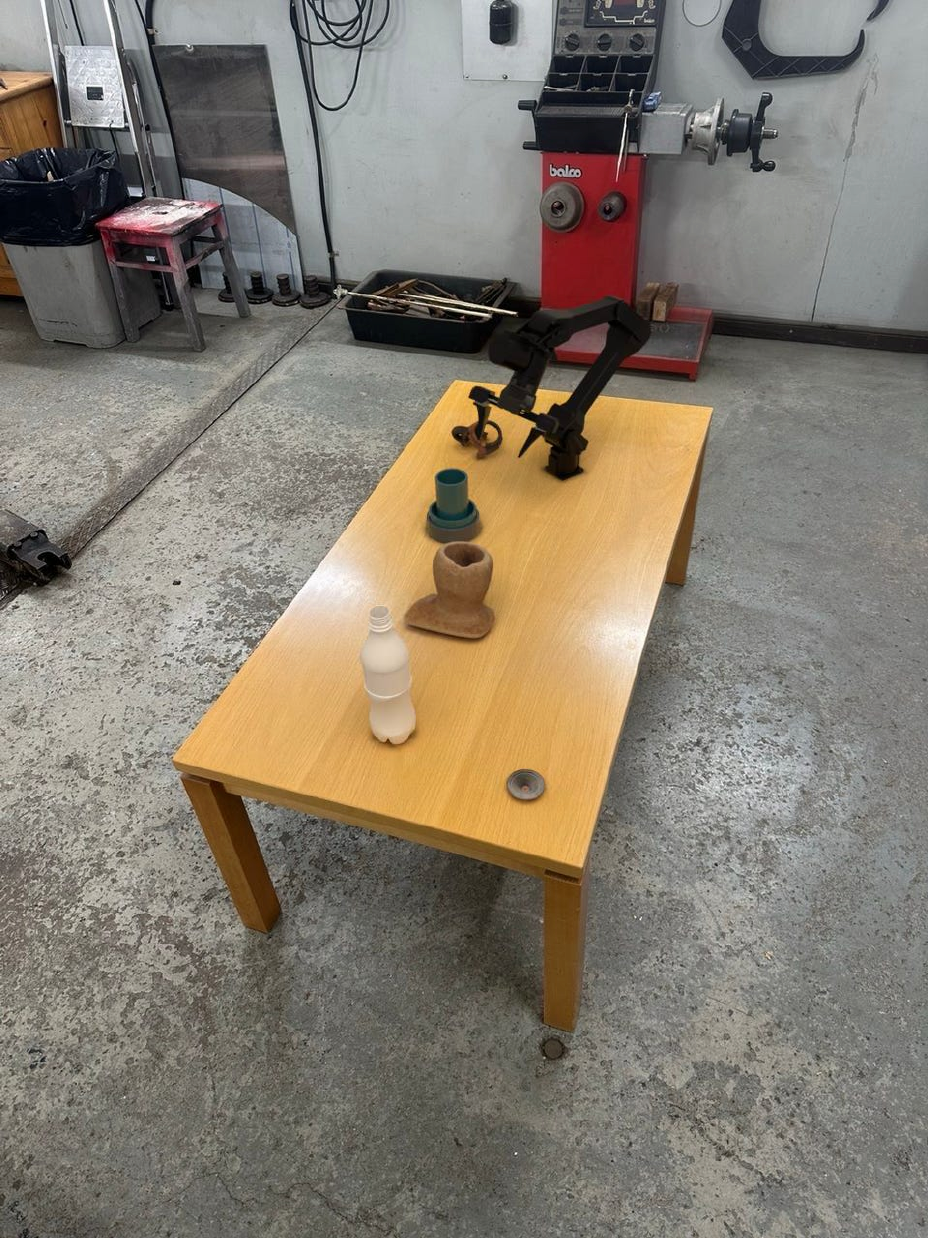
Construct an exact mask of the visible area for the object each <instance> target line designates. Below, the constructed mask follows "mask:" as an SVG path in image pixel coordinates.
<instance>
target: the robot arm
mask: <svg viewBox="0 0 928 1238" xmlns="http://www.w3.org/2000/svg"><path fill="white" fill-rule="evenodd" d="M603 324H606V325H608V329H607V331H606V337H605V345H604V347H603V349H602V350H601V351H600V353H599V355H598V356H597V357H596V359H595V361H594V362H593V363H592V364H591V366H590V367H589V369H588V370H587V371H586V373H585V374H584V376H583V377H582V379H581V380H580V381H579V383H578V385H577V386H576V387H575V389H574V390H573V392H572V393H571V395H570V396H569V397H568V398H567V400H566V401H565V402H563V403H561V404H558V403H556V402H554V403H553V404H552V405H551V406H550V407H549V410H548V411H547V413H545V412H539V414H538V413H536V412H534V411H533V410H534V408H535V405H536V402H537V398H538V396H537V392H538V389H539V387H540V385H541V383H542V380H543V378H544V375H545V372H546V371H547V367H548V366H549V363H550V360H551V361H553V362H558V360H559V359H558V355H557V354H556V348H558V347H561V346H562V345H564V344H566V343H568V342H569V341H570V340H571V339H572V337H573V335H575V334H577V333H579V332H582V331H585V330H589V329H591V328H595V327H597V326H600V325H603ZM651 336H652V325H651V322H650V321H649V320H648V319H646V318H644V317H643V316H641V315H640V314H639V312H637V311H636V310H634V309H633V308H632V307H631V305H630V304H629V303H628V302H627V301H626V300H625V299H624V298H623V299H622V298H621V297H617V296H615V295H611V294H610V295H606V296H605V295H604V297H603V298H600V299H598V300H594V301H591V302H587V303H585V304H581V305H578V306H575V307H572V308H569V309H563V310H561V309H551V308H550V309H539V310H536V311H535V312H533V313H532V314H531V316H530V318H529V319H527V320H526V321H525V322H524V323H523V324H522V325H520V326H519V327H518V328H516V330H515V331H512V330H510V329H509V328H504V329H503V331H502V334H498V335H497V336H496V337H494V338H493V340H492V341H491V342H490V343H489V347H488V354H487V355H488V359H489V361H490V363H491V364H493V365H496V366H499V367H502V368H504V369H507V370H509V371H513V374H512V376H511V378H510V380H509V382H508V383H507V384H506V385H505V386H504V387H503V389H501V390H500V392H499V396H496V391H493V390H492V389H488V388H486V387H484V386H482V385H474V386H472V388H471V389H470V391H469V394H468V397H467V399H469V400H472V401H473V402H472V405H473V406H475V408H476V410H477V421H478V436H477V440H478V441H481V440H482V439H481V437H482V435H483V433H484V432H485V430H486V426H487V425H488V424H487V421H488V420H489V417H490V415H491V411H492V409H493V407H492V406H490V405H493V406H494V407H496V408H498V409H499V410H504V411H506V412H508V413H510V414H512V415H513V416H518V417H520V418H522V419H525V420H528V421H529V422H532V423H533V424H534V425H535V426H532V427H531V428H530V431H529V433H528V435H527V437H526V438H525V441H524V443H523V444H522V446H521V448H520V450H519V452H518V455H517V459H521V458H522V456H523V455H524V454H526V452H527V450H529V448H530V447H531V446H532V445H533V444H534V443H535V442H536V441H537V440H538V439H539V438H540V437H542V439H543V441H544V442H545V443H546V444H548V445H550V447H549V454H548V458H547V459H548V463H547V465H545V466H544V470H545V471H547V472H548V473H550V474H551V475H553V476H554V477H556V478H557V479H559V480H560V481H565V480H567V479H569V478H572V477H574V476H577V475H580V474H582V473H584V472H585V471H584V470H585V469H584V468H583V467H581V466H580V461H581V460H580V459H581V455H582V453H583V452H585V451H586V450H587V448H588V444H589V440H588V439H587V438H585V437H584V436H583V435H582V433H583V431H584V428H585V419H586V415H587V413H588V412H589V410H590V409H591V408H592V406H593V404H594V403H595V402H596V400H597V399H598V397H599V396H600V394H601V393H602V392H603V390H604V389H605V387H606V386H607V385H608V383H609V382H610V380H611V379H612V378H613V376H614V375H615V373H617V371H618V369H619V367H620V366H621V364H622V363H623V362H624V361H625V360H626V359H628V358H630V357H632V356H634V355H635V354H638V353H639V351H640V350H641V349H642V348H643V347H644V346H645V345H646V344H647V342H648V341H649V339H650V338H651ZM486 424H487V425H486Z"/></svg>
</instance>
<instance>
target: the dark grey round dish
mask: <svg viewBox="0 0 928 1238" xmlns="http://www.w3.org/2000/svg"><path fill="white" fill-rule="evenodd" d="M506 788H507V790H508V792H509V793H510V794H511V795H512V796H513V797H514V798H517V799H520V800H534V799H536V798H538V797H539V796H541V795H542V794H543V792H544V791H545V788H546V781H545V779H544V776H542V774H540V772H538V771H536V770H534V769H530V768H520V769H516V770H515V771H513V772H511V774H509V776H508V778H507V779H506ZM525 789H526V790H525Z"/></svg>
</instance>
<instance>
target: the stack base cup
mask: <svg viewBox="0 0 928 1238" xmlns="http://www.w3.org/2000/svg"><path fill="white" fill-rule="evenodd" d="M480 523H481V522H480V511H479V509H478V508H477V507H476V519H475V521H474V522H473V523H471V524H470V525H468V526H466V527H463V528H458V529H445V528H440V527H438V526H436V525H434V524H433V523H432V522H431V521H430V518H429V510H428V511H427V513H426V530H427V533H428V535H429V537H430V538H431V539H433V540H434V541H435V542H438V543H441V544H447V543H450V542H469V541H471V540H474V538H476V537H477V535H478V534H479V532H480V525H481V524H480Z"/></svg>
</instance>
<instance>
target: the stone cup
mask: <svg viewBox="0 0 928 1238" xmlns="http://www.w3.org/2000/svg"><path fill="white" fill-rule="evenodd" d="M432 561H433V562H432V574H433V576H432V577H433V581H434V586H435V589H436V593H430V594H428V595H427V594H426V595H425V596H424V597H421V598H419V599H417V600H416V601H414V602H413V603H412V605H411V606H410V607H408V609H407V611H406V613H405V614H404V616H403V617H404V618H403V623H404V624H406V625H409V626H413V627H416V628H421V629H424V630H428V631H432V632H436V633H439V634H444V635H449V636H455V637H460V638H466V639H481V638H483V637H484V636H486V634H488V632H489V631H490V630H491V629H492V627H493V625H494V622H495V618H496V616H495V612H494V609H492V608H491V607H490V606H487V605H486V604H484V600H485V598H486V595H487V593H488V591H489V589H490V586H491V582H492V579H493V572H494V571H493V570H494V560H493V557H492V554H490V552H489V551H488V550H487V549H486V548H485V547H483V546H482V545H480V544H476V543H474V542H469V541H467V542H450V543H447V544H446V543H443V544H442V545H441V546H440V547H439V548H438V549H437V550H436V552H435V555H434V557H433V560H432Z"/></svg>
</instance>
